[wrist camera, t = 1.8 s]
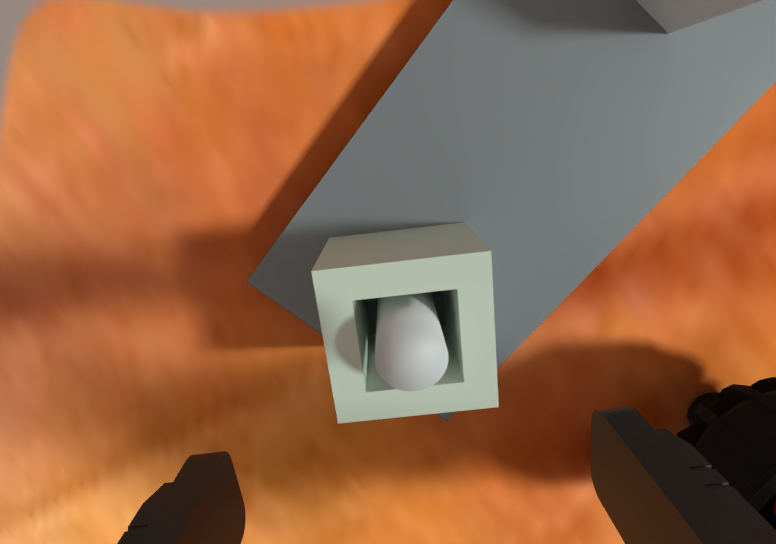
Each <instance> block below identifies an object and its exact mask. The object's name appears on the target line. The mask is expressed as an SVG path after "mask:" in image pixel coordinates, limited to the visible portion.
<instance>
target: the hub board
mask: <svg viewBox="0 0 776 544" xmlns="http://www.w3.org/2000/svg"><path fill="white" fill-rule="evenodd" d="M775 82H776V0H453V1H452V2H451V4H450V5H449V6H448V8H447V9H446V10H445V12H444V13H443V15H442V16H441V17H440V19H439V20H438V21H437V23H436V24H435V25H434V27H433V28H432V30H431V31H430V32H429V34H428V35H427V36H426V38H425V39H424V40H423V42H422V43H421V44H420V46H419V47H418V49H417V50H416V51H415V53H414V54H413V55H412V57H411V58H410V59H409V61H408V62H407V64H406V65H405V66H404V68H403V69H402V70H401V72H400V73H399V74H398V76H397V77H396V79H395V80H394V81H393V83H392V84H391V85H390V87H389V88H388V89H387V91H386V92H385V93H384V95H383V96H382V98H381V99H380V100H379V102H378V103H377V104H376V106H375V107H374V108H373V110H372V111H371V113H370V114H369V115H368V117H367V118H366V119H365V121H364V122H363V123H362V125H361V126H360V128H359V129H358V130H357V132H356V133H355V134H354V136H353V137H352V138H351V140H350V141H349V142H348V144H347V145H346V147H345V148H344V149H343V151H342V152H341V153H340V155H339V156H338V157H337V159H336V160H335V162H334V163H333V164H332V166H331V167H330V168H329V170H328V171H327V172H326V174H325V175H324V177H323V178H322V179H321V181H320V182H319V183H318V185H317V186H316V187H315V189H314V190H313V191H312V193H311V194H310V196H309V197H308V198H307V200H306V201H305V202H304V204H303V205H302V206H301V208H300V209H299V211H298V212H297V213H296V215H295V216H294V217H293V219H292V220H291V221H290V223H289V224H288V225H287V227H286V228H285V230H284V231H283V232H282V234H281V235H280V236H279V238H278V239H277V240H276V242H275V243H274V245H273V246H272V247H271V249H270V250H269V251H268V253H267V254H266V255H265V257H264V258H263V260H262V261H261V262H260V264H259V265H258V266H257V268H256V269H255V270H254V272H253V273H252V274H251V276H250V277H249V279H248V280H247V281H246V282H247V283H249V284H250V285H252V286H253V287H254V288H256V289H257V290H259V291H260V292H262V293H263V294H264V295H266V296H267V297H269V298H270V299H272V300H273V301H275V302H276V303H277V304H279V305H280V306H282V307H283V308H285V309H286V310H287V311H289V312H290V313H292V314H293V315H295V316H296V317H298V318H299V319H300V320H302V321H303V322H305V323H306V324H308V325H309V326H310V327H312V328H313V329H315V330H316V331H318V332H319V333H321V334H322V330H321V324H320V318H319V313H318V307H317V301H316V296H315V290H314V284H313V279H312V273H311V271H312V269H313V267H314V265H315V263H316V261H317V260H318V258H319V256H320V254H321V252H322V250H323V249H324V247H325V245H326V243H327V241H328V239H329V238H331V237H340V236H349V235H357V234H366V233H375V232H383V231H392V230H401V229H409V228H418V227H427V226H435V225H444V224H453V223H461V222H466V224H467V225H468V226H469V227H470V228H471V229H472V230H473V231H474V232H475V233H476V235H477V236H478V237H479V238H480V239H481V240H482V241H483V242H484V243H485V244H486V246H487V247H488V248H489V249H490V250H491V255H492V276H493V297H494V318H495V339H496V360H497V368H498V367H499V366H500V365H501V364H502V363H503V362H504V361H505V360H506V359H507V358H508V357H509V356H510V355H511V354H512V353H513V352H514V351H515V350H516V349H517V348H518V347H519V346H520V345H521V344H522V343H523V342H524V341H525V340H526V339H527V338H528V336H529V335H530V334H531V333H532V332H533V331H534V330H535V329H536V328H537V327H538V326H539V325H540V324H541V323H542V322H543V321H544V320H545V319H546V318H547V317H548V316H549V315H550V314H551V313H552V312H553V311H554V310H555V309H556V308H557V307H558V306H559V305H560V303H561V302H562V301H563V300H564V299H565V298H566V297H567V296H568V295H569V294H570V293H571V292H572V291H573V290H574V289H575V288H576V287H577V286H578V285H579V284H580V283H581V282H582V281H583V280H584V279H585V278H586V277H587V276H588V275H589V274H590V273H591V272H592V270H593V269H594V268H595V267H596V266H597V265H598V264H599V263H600V262H601V261H602V260H603V259H604V258H605V257H606V256H607V255H608V254H609V253H610V252H611V251H612V250H613V249H614V248H615V247H616V246H617V245H618V244H619V243H620V242H621V241H622V240H623V238H624V237H625V236H626V235H627V234H628V233H629V232H630V231H631V230H632V229H633V228H634V227H635V226H636V225H637V224H638V223H639V222H640V221H641V220H642V219H643V218H644V217H645V216H646V215H647V214H648V213H649V212H650V211H651V210H652V209H653V208H654V207H655V205H656V204H657V203H658V202H659V201H660V200H661V199H662V198H663V197H664V196H665V195H666V194H667V193H668V192H669V191H670V190H671V189H672V188H673V187H674V186H675V185H676V184H677V183H678V182H679V181H680V180H681V179H682V178H683V177H684V176H685V175H686V174H687V172H688V171H689V170H690V169H691V168H692V167H693V166H694V165H695V164H696V163H697V162H698V161H699V160H700V159H701V158H702V157H703V156H704V155H705V154H706V153H707V152H708V151H709V150H710V149H711V148H712V147H713V146H714V145H715V144H716V143H717V142H718V140H719V139H720V138H721V137H722V136H723V135H724V134H725V133H726V132H727V131H728V130H729V129H730V128H731V127H732V126H733V125H734V124H735V123H736V122H737V121H738V120H739V119H740V118H741V117H742V116H743V115H744V114H745V113H746V112H747V111H748V110H749V109H750V107H751V106H752V105H753V104H754V103H755V102H756V101H757V100H758V99H759V98H760V97H761V96H762V95H763V94H764V93H765V92H766V91H767V90H768V89H769V88H770V87H771V86H772V85H773V84H774V83H775ZM365 300H366V307H367V314H368V321H369V328H370V333H376V344H375V365H376V369H377V371H378V373H379V375H380V376H381V378H382V379H383V380H384V381H385V382H386V383H387V384H389V385H390V386H392V387H394V388H396V389H399V390H402V391H420V390H423V389H426V388H429V387H430V386H432V385H434V384H435V383H436V382H437V381H439V380H440V378H441V377H442V376H443V374H444V373H445V371H446V369H447V365H448V360H449V359H448V350H447V347H446V343H445V340H444V336H443V333H442V329H441V326H443V325H446V317H445V305H444V293H443V291H435V292H426V293H417V294H408V295H399V296H390V297H381V298H372V299H365ZM454 413H455V412H446V413H437V415H438V416H440V417H441V418H443V419H444V420H446V421H447V420H448V419H449V418H450V417H451V416H452V415H453V414H454Z"/></svg>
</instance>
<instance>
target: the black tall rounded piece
mask: <svg viewBox="0 0 776 544" xmlns="http://www.w3.org/2000/svg"><path fill="white" fill-rule="evenodd" d="M687 418H688V420H689V423H690V425H691V426H689V427H688V428H686V429H684V430H682V431H680V432H678V433H677V436H678V437H679V438H681V439H683V440H684V441H686V442H688V443H689V444H691V445H692V446H693V447H694V448H695V449H696V450H697V451H698V452H699V453H700V454H701V455H702V456H703V457H704V458H705V459H706V460H707V461H708V462H709V463H710V464H711V466H712V469H716V470H717V471H718V472H719V473H720V474H721V475H722V476H723V477H724V478H725V479H726V480H727V481H728V483H729V486H730V487H734V488H735V489H736V490H737V491H738V492H739V493H740V494H741V495H742V497H743V498H744V499H745V500H746V501H747V502H748V503H749V504H750V505H751V506H752V507H753V508H754V509H755V510H756V511H757V512H758V513H759V514H760V515H761V516H762V517H763V518H764V519H765V520H766V521H767V522H768V523H769V524H770V525H771V526H772V527H773V528H774V529H775V530H776V377H771V378H767V379H763V380H759V381H757V382H756V383H754V384H753V385H751V386H746V385H735V384H733V385H731V386H728V387H726V388H724V389H722V391H721V392H720V393H719V392H717V393H707V394H705V395H702V396H700V397H698V398H697V399H696V400H695V401H694V402H693V403H692V404H691V405H690V407H689V411H688V414H687Z"/></svg>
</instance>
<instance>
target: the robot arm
mask: <svg viewBox="0 0 776 544" xmlns="http://www.w3.org/2000/svg"><path fill="white" fill-rule="evenodd" d="M591 476H592V481H593V484H594V488H595V491H596V493H597V496H598V498H599V500H600V502H601V503H602V505H603V507H604V508H605V510H606V512H607V513H608V515H609V517H610V518H611V520H612V522H613V524H614V525H615V527H616V529H617V530H618V532H619V534H620V535H621V537H622V539H623V541H624V542H625V544H776V530H775V529H774V528H773V527H772V526H771V525H770V524H769V523H768V522H767V521H766V520H765V519H764V518H763V517H762V516H761V515H760V514H759V513H758V512H757V511H756V510H755V509H754V508H753V507H752V506H751V505H750V504H749V503H748V502H747V501H746V500H745V499H744V498H743V497H742V495H741V494H740V493H739V492H738V491H737V490H736V489H735V488H734V487H730V486H729V483H728V481H727V480H726V479H725V478H724V477H723V476H722V475H721V474H720V473H719V472H718V471H717V470H716V469H712V466H711V464H710V463H709V462H708V461H707V460H706V459H705V458H704V457H703V456H702V455H701V454H700V453H699V452H698V451H697V450H696V449H695V448H694V447H693V446H692V445H691V444H689V443H688V442H686V441H684V440H683V439H681V438H679V437H678V436H676V435H674V434H673V433H671V432H669V431H667V430H666V429H658V430H654V429H653V428H652V427H651V426H650V425H649V424H648V422H647V421H646V420H645V419H644V418H643V417H642V416H641V415H640V414H639V413H638V411H636V410H635V409H634V408H632V407H624V408H615V409H606V410H598V411H594V413H593V415H592V426H591ZM244 529H245V506H244V502H243V499H242V495H241V491H240V488H239V484H238V481H237V477H236V474H235V470H234V467H233V463H232V460H231V457H230V455H229V454H228V453H227V452H225V451H224V452H215V453H206V454H197V455H191V456H190V457H189V458H188V459H187V460H186V461H185V463H184V465H183V467H182V468H181V470H180V472H179V473H178V475H177V477H176V478H175V480H174V482H171V483H164V484H163V485H162V486H161V487H160V488H159V489H158V490H157V491H156V492H155V493H154V494H153V495H152V496H151V497H150V498H148V499H147V500H146V501H145V502H144V503H143V504H142V506H141V507H140V509H139V511H138V512H137V514H136V515H135V517H134V518H133V520H132V522H131V523H130V525H129V526H128V531H127V532H125V533H124V534H123V536H122V537H121V539H120V540H119V542H118V544H241V541H242V538H243V534H244Z"/></svg>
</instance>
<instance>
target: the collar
mask: <svg viewBox="0 0 776 544" xmlns="http://www.w3.org/2000/svg"><path fill="white" fill-rule="evenodd" d="M311 273H312V279H313V284H314V290H315V296H316V301H317V307H318V313H319V318H320V324H321V330H322V335H323V341H324V347H325V353H326V358H327V364H328V370H329V375H330V381H331V387H332V392H333V398H334V404H335V409H336V415H337V421H338V424H339V423H349V422H359V421H368V420H378V419H388V418H398V417H407V416H417V415H427V414H437V413H446V412H456V411H466V410H476V409H485V408H495V407H499V401H498V380H497V360H496V339H495V318H494V297H493V276H492V255H491V250H490V249H489V248H488V247H487V246H486V244H485V243H484V242H483V241H482V240H481V239H480V238H479V237H478V236H477V235H476V233H475V232H474V231H473V230H472V229H471V228H470V227H469V226H468V225H467V224H466V222H461V223H453V224H444V225H435V226H427V227H418V228H409V229H401V230H392V231H383V232H375V233H366V234H357V235H349V236H340V237H331V238H329V239H328V241H327V243H326V245H325V247H324V249H323V250H322V252H321V254H320V256H319V258H318V260H317V261H316V263H315V265H314V267H313V269H312V271H311ZM435 291H443V293H444V305H445V317H446V325H443V326H441V329H442V333H443V336H444V340H445V343H446V347H447V350H448V359H449V360H448V365H447V369H446V371H445V373H444V374H443V376H442V377H441V378H440V380H439V381H437V382H436V383H435V384H434V385H432V386H430V387H429V388H426V389H423V390H420V391H402V390H399V389H396V388H394V387H392V386H390V385H389V384H387V383H386V382H385V381H384V380H383V379H382V378H381V376H380V375H379V373H378V371H377V369H376V365H375V344H376V333H370V328H369V321H368V314H367V307H366V300H365V299H372V298H381V297H390V296H399V295H408V294H417V293H426V292H435Z"/></svg>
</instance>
